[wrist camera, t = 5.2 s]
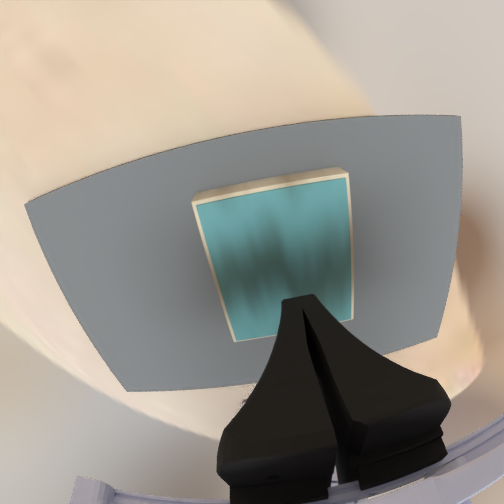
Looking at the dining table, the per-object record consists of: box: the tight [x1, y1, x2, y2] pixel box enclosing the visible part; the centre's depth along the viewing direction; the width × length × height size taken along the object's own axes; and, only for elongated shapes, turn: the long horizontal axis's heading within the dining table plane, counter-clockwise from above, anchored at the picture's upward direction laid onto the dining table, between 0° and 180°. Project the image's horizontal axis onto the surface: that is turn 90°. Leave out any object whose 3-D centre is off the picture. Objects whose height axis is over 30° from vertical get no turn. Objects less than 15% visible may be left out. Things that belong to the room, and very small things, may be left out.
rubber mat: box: [24, 115, 463, 392], centre depth 18 cm, size 18×28×1 cm, turn 101°
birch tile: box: [191, 167, 354, 342], centre depth 16 cm, size 9×2×8 cm
